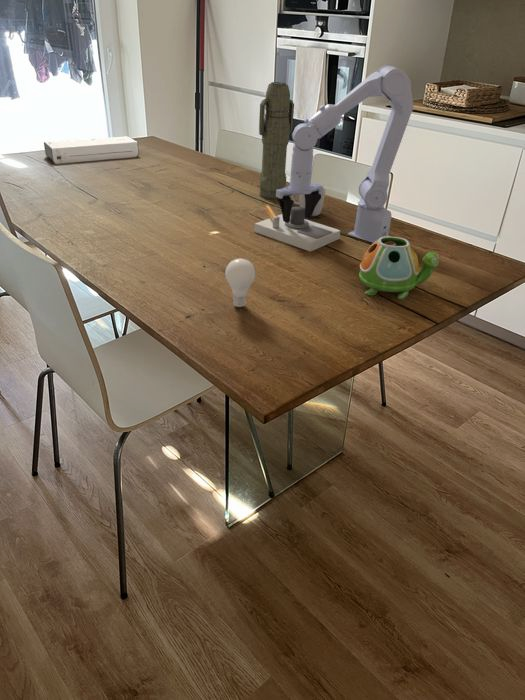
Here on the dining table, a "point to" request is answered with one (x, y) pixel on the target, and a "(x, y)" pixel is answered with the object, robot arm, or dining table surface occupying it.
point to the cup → (318, 206)
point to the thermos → (275, 137)
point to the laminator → (91, 149)
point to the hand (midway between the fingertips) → (297, 219)
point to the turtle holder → (394, 267)
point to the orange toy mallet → (273, 217)
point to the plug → (297, 218)
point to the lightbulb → (240, 279)
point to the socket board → (299, 234)
